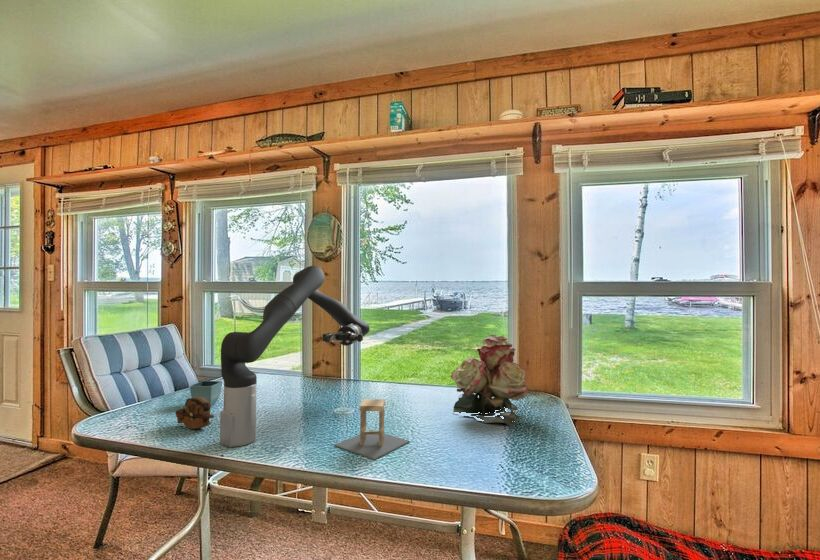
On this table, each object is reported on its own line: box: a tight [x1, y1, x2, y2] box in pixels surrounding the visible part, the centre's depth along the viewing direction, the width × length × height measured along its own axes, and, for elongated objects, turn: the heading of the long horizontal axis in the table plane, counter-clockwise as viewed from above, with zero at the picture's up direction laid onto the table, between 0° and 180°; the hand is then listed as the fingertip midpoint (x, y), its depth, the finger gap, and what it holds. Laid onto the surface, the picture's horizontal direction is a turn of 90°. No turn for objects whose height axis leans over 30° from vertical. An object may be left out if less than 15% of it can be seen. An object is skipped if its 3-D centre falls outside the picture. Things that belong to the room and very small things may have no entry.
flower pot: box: [189, 380, 223, 407], centre depth 156 cm, size 9×9×9 cm
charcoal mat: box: [334, 429, 411, 461], centre depth 117 cm, size 16×16×1 cm
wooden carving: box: [175, 397, 215, 430], centre depth 130 cm, size 16×5×10 cm, turn 70°
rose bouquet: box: [450, 334, 530, 426], centre depth 146 cm, size 26×29×30 cm
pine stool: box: [358, 398, 386, 447], centre depth 117 cm, size 7×7×12 cm
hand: (338, 339), depth 135 cm, fingers open, 8 cm apart
